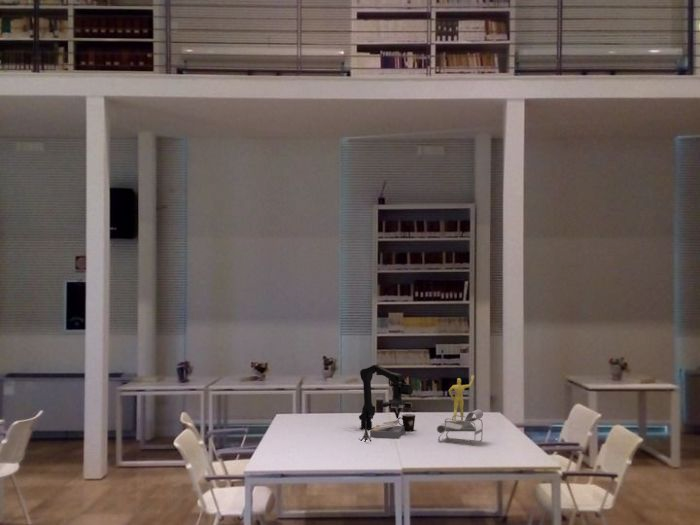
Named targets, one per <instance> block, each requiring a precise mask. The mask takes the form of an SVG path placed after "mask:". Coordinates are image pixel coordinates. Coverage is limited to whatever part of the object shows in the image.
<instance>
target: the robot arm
mask: <svg viewBox="0 0 700 525" xmlns="http://www.w3.org/2000/svg"><path fill="white" fill-rule="evenodd" d="M375 373H377V374H379V375H381V376H383V377H385V378H388V380H389V381H390V382H391V384H390V385H389V386H390V387H392V398H391V402H390V401H384V402H382V403H381V405H382V408H388V407H390V409H392V411H393V412H394V415H395V418H396V419H398V418H400V413H401V411H402V410H403V409H404V408H406V409H412V408H413V403H412V402H409V401H408V402H407V401H406V402H405V403H403V395H405V396H411V395H413V392H414V391H413V390H414V389H413V387H412V384H411V383H409V384H407V382H406V380H405V379H404V376H403V375H402V374H401V373H397V372H392V371H391V370H389V369H386V368H385V367H383V366H380V365H379V364H372V365H371V366H368V367H366V368H362V369H360V372H359V375H360V379H361V381H362V385H363V401H364V402H363V406H362V409H361V414H359V415H358V419H359V420H360V430H365V425H366V423H365V422H367V430H372V429H373V421H372V420H373V419H374V416H375V414H376V406H375V405H373V403H372V402H373V401H372V383H371V382H372V379H373V378H374V377H373V375H374V374H375Z"/></svg>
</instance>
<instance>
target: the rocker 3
mask: <svg viewBox="0 0 700 525" xmlns="http://www.w3.org/2000/svg"><path fill="white" fill-rule="evenodd" d="M395 426H397V425H395V424H391V425H385V426H380V427H379V429H384V428H390V427H395Z"/></svg>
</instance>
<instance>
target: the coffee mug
mask: <svg viewBox="0 0 700 525" xmlns="http://www.w3.org/2000/svg"><path fill="white" fill-rule="evenodd" d="M400 419H401V420H402V424H401V423H400V422H399V423H398V425H399V426H405V432H414V430H415V423H416V422H415V421H416V414H412V413H403V414H401V417H400V416H399V417H398V418H397V420H399V421H400Z"/></svg>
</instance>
